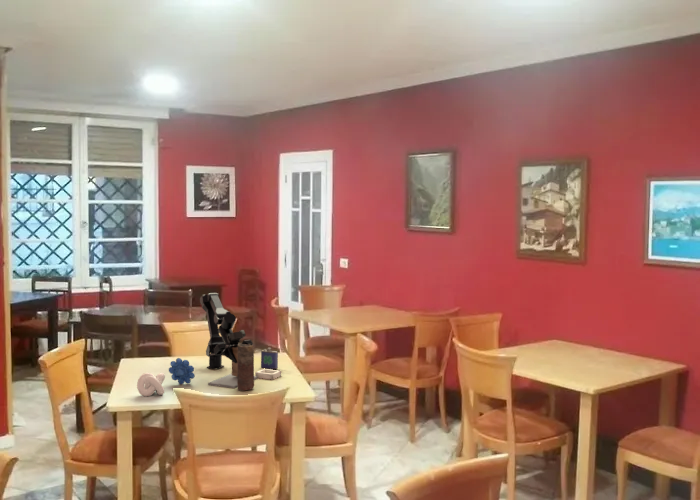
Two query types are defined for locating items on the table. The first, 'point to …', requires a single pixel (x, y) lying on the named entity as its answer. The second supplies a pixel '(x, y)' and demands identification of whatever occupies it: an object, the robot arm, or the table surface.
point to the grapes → (181, 371)
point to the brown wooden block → (235, 365)
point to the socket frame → (268, 374)
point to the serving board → (226, 381)
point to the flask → (269, 359)
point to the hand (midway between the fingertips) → (240, 362)
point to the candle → (245, 367)
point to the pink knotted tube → (150, 384)
